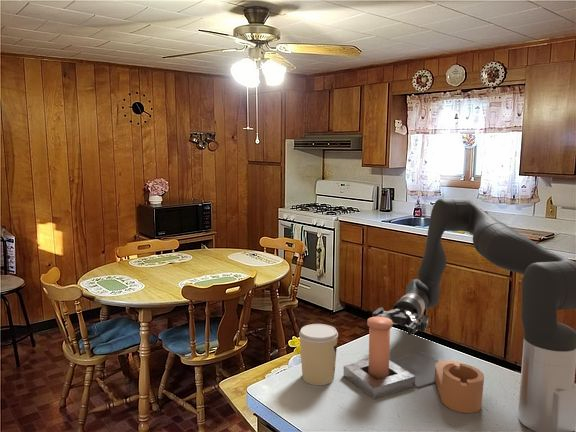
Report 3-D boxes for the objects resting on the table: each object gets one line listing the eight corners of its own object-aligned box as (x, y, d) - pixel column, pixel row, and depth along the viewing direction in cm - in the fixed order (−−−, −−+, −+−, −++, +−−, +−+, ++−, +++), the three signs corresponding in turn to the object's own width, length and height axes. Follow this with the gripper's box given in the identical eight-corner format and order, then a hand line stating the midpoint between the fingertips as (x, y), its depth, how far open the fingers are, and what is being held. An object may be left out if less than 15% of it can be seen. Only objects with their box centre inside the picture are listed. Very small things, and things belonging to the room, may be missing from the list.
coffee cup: (344, 383, 108) (344, 334, 107) (307, 390, 105) (308, 340, 104) (327, 366, 117) (328, 321, 115) (293, 372, 114) (293, 326, 112)
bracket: (485, 414, 95) (488, 384, 94) (444, 410, 96) (446, 380, 95) (467, 372, 113) (469, 346, 111) (432, 369, 114) (434, 343, 113)
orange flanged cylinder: (395, 383, 108) (397, 322, 106) (376, 389, 106) (377, 327, 103) (380, 373, 113) (382, 315, 111) (361, 378, 111) (362, 319, 109)
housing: (414, 386, 107) (415, 376, 106) (373, 398, 101) (373, 388, 101) (382, 365, 117) (382, 355, 117) (343, 375, 112) (343, 365, 112)
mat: (461, 374, 112) (461, 373, 112) (417, 388, 106) (418, 386, 106) (421, 352, 124) (421, 351, 124) (380, 363, 118) (380, 362, 118)
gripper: (385, 292, 135) (366, 309, 121) (434, 300, 128) (421, 319, 114) (384, 317, 136) (366, 336, 122) (433, 326, 129) (419, 347, 115)
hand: (392, 328), depth 118 cm, fingers open, 8 cm apart
